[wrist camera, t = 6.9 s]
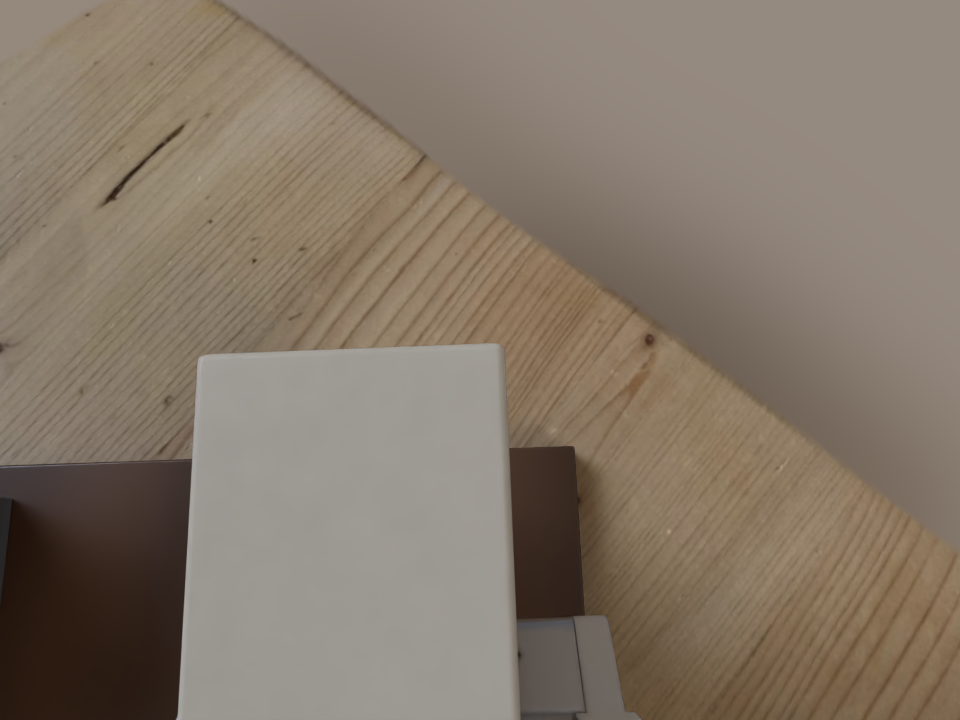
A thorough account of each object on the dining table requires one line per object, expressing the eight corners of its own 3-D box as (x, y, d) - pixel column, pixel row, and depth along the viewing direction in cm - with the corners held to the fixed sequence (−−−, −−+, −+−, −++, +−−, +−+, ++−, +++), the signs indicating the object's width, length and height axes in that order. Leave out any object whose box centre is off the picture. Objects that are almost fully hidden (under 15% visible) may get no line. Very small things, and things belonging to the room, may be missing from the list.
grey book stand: (571, 449, 24) (655, 342, 11) (592, 801, 22) (727, 1156, 9) (-151, 474, 24) (-849, 396, 12) (-209, 824, 22) (-1162, 1201, 9)
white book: (500, 474, 21) (504, 340, 7) (513, 797, 19) (550, 1423, 5) (391, 478, 21) (194, 352, 7) (393, 800, 19) (133, 1430, 5)
